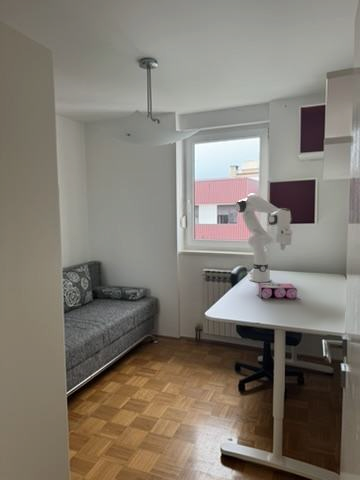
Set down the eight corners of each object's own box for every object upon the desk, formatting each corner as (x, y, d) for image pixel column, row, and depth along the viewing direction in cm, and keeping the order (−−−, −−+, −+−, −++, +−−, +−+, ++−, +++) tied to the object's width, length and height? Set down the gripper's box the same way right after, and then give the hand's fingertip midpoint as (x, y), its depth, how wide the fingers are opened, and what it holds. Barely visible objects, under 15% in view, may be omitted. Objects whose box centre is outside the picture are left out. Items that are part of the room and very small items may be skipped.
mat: (256, 294, 227) (256, 294, 227) (292, 294, 229) (292, 293, 229) (262, 300, 213) (262, 299, 213) (301, 299, 215) (301, 299, 215)
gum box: (293, 283, 226) (298, 288, 212) (293, 294, 226) (298, 299, 213) (258, 282, 228) (261, 287, 215) (258, 293, 229) (260, 298, 216)
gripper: (274, 229, 246) (273, 247, 247) (284, 231, 226) (283, 251, 227) (282, 229, 246) (281, 248, 248) (293, 231, 226) (292, 251, 227)
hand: (282, 249), depth 237 cm, fingers closed
